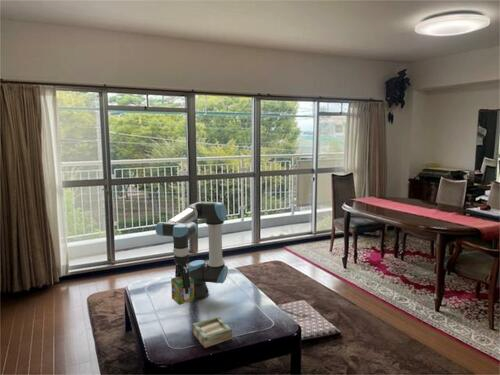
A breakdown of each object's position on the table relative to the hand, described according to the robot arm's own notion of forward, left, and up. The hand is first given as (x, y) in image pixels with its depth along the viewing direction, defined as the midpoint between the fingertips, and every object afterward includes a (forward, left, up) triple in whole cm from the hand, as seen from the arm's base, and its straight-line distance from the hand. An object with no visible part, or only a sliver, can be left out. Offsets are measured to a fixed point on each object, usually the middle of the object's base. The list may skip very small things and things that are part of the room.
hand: (183, 294), depth 190 cm
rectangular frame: (+5, +14, -25) cm, 29 cm away
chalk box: (0, 0, -3) cm, 3 cm away
